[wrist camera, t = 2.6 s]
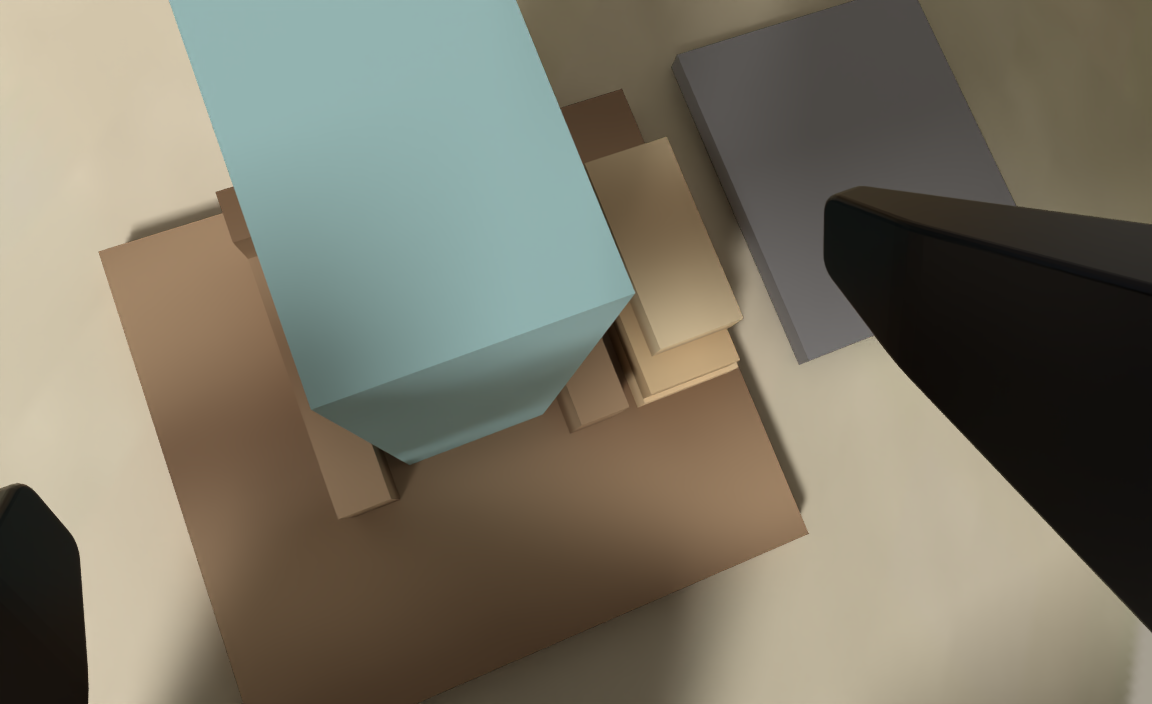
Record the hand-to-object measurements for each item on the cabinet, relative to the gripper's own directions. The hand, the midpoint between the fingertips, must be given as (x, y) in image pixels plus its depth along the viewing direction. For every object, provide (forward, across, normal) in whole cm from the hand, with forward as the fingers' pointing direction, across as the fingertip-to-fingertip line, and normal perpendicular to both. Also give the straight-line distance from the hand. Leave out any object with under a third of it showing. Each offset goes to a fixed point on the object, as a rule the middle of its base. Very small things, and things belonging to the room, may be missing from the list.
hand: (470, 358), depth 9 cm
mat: (+9, -11, +5) cm, 15 cm away
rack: (+7, 0, +6) cm, 10 cm away
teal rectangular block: (+7, 0, +5) cm, 9 cm away
